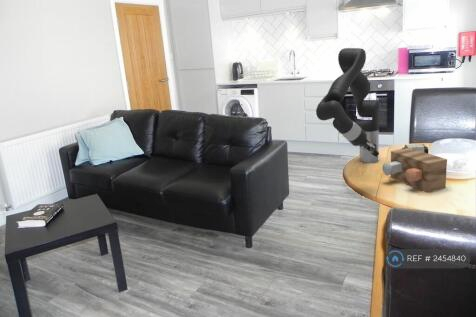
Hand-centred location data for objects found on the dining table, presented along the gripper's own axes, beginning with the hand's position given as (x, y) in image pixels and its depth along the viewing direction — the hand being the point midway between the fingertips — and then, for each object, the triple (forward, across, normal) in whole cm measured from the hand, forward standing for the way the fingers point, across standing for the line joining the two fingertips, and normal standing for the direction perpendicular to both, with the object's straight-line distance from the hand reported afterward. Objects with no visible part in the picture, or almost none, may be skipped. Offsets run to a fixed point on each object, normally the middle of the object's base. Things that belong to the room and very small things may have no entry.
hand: (376, 154), depth 179 cm
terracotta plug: (+18, -11, -2) cm, 21 cm away
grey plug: (+16, +1, 0) cm, 16 cm away
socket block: (+24, -5, -2) cm, 24 cm away
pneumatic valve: (+35, +13, -12) cm, 39 cm away
